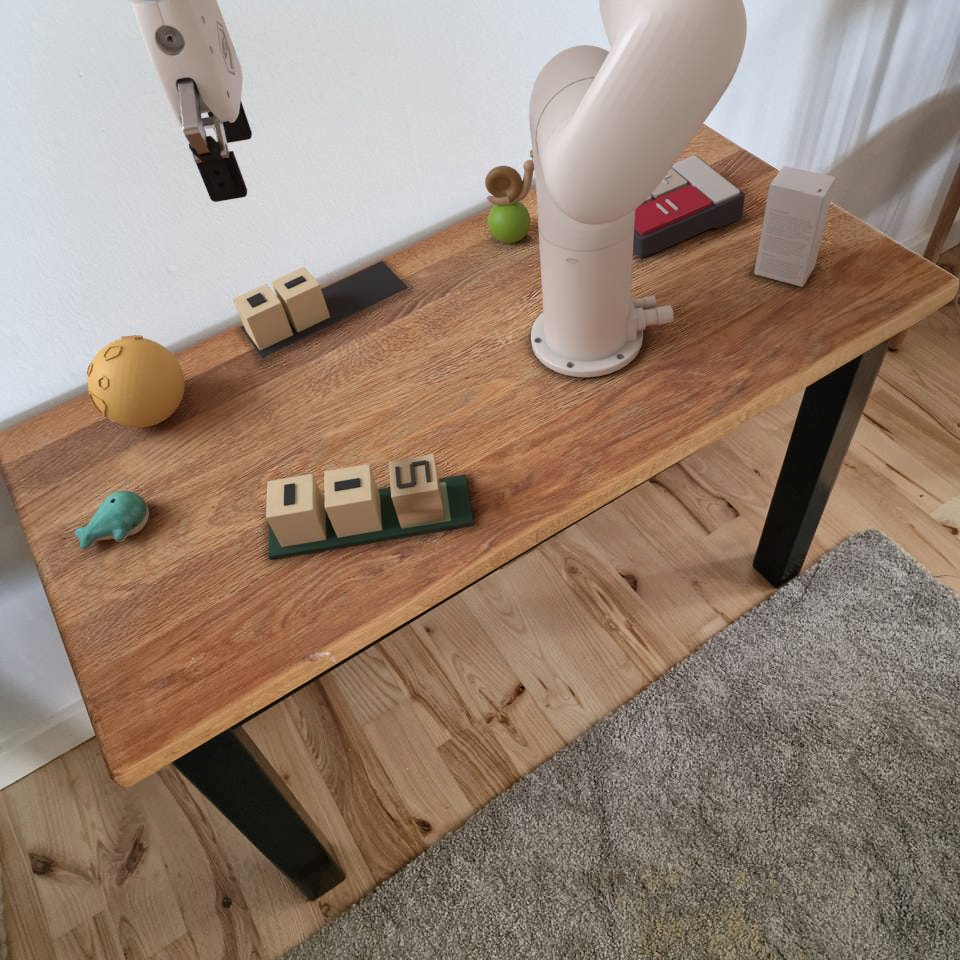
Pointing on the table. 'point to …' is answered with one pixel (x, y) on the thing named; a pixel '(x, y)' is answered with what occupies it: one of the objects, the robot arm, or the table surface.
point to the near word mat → (388, 522)
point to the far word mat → (349, 299)
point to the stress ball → (135, 382)
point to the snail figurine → (509, 202)
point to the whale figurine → (115, 519)
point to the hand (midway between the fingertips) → (233, 167)
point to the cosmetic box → (793, 225)
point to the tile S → (416, 490)
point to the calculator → (685, 206)
